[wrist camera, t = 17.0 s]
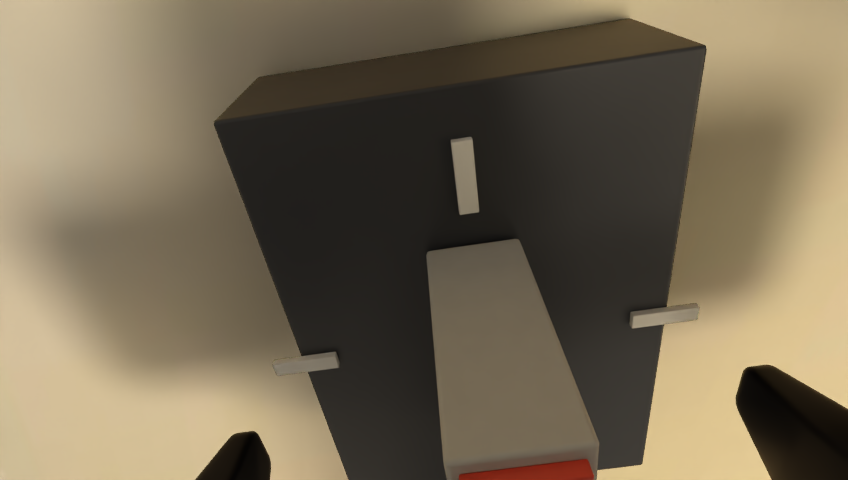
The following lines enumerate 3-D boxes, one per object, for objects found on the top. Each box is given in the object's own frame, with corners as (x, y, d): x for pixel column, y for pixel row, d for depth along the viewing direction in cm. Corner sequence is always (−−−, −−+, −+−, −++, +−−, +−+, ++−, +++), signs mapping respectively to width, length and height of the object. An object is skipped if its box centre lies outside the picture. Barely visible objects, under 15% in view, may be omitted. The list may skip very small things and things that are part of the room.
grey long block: (527, 409, 12) (591, 649, 8) (453, 419, 12) (481, 662, 8) (519, 236, 9) (610, 464, 5) (425, 249, 9) (445, 484, 5)
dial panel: (622, 378, 16) (667, 468, 13) (344, 414, 16) (334, 509, 14) (661, 13, 10) (754, 40, 8) (229, 81, 11) (171, 130, 8)
